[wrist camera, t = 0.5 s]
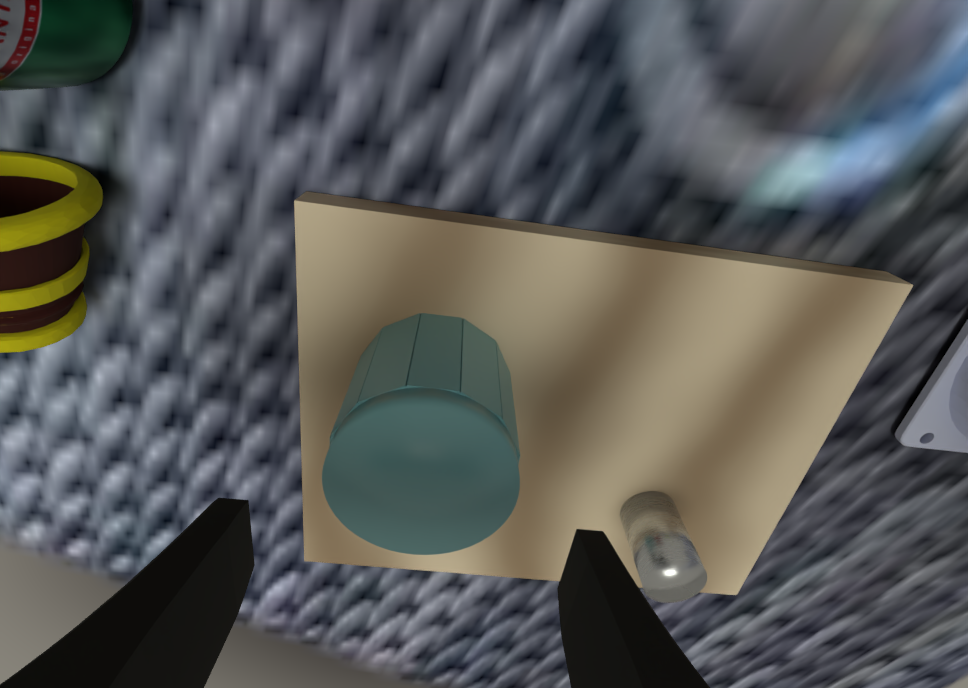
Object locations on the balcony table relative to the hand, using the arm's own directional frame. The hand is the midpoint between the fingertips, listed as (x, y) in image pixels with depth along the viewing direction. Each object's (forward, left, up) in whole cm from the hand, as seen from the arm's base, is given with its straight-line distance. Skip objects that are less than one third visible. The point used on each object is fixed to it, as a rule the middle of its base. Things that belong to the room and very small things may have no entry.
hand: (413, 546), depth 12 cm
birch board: (-5, +2, -8) cm, 10 cm away
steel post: (-9, +5, -7) cm, 12 cm away
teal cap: (0, 0, -7) cm, 7 cm away
